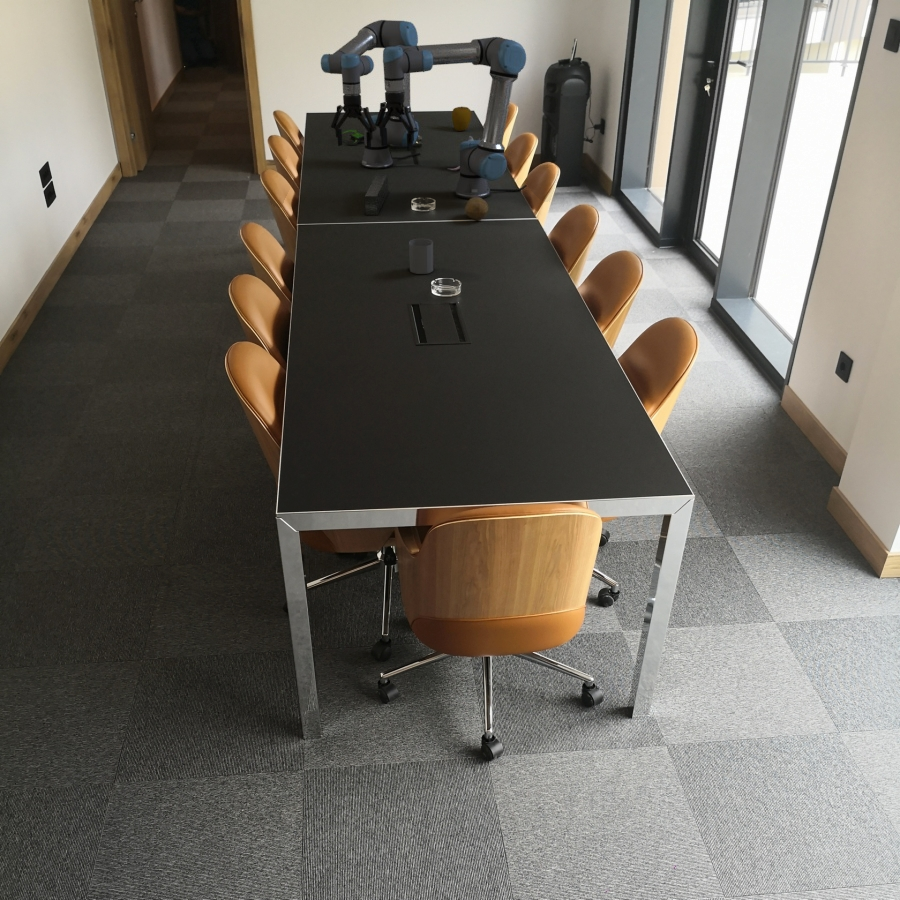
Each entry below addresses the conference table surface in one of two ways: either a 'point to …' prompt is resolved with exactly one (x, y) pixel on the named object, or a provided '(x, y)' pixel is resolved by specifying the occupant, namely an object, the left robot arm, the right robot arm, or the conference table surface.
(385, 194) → the bar
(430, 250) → the cup
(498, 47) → the right robot arm
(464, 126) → the yellow bell pepper
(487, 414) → the conference table surface
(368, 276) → the conference table surface
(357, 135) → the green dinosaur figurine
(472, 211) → the potato
